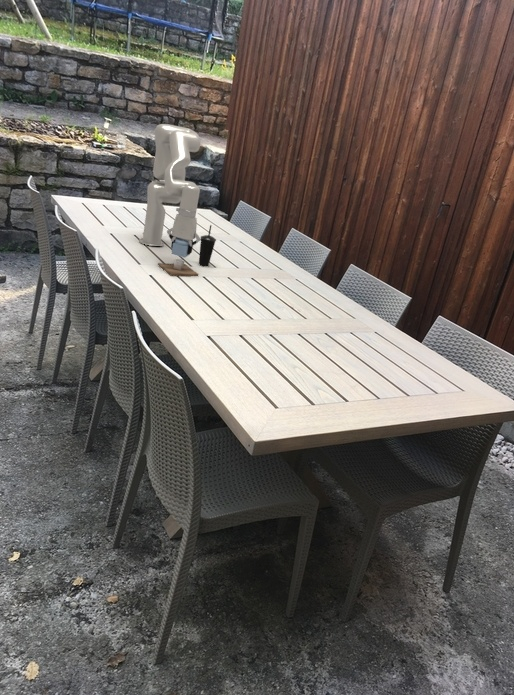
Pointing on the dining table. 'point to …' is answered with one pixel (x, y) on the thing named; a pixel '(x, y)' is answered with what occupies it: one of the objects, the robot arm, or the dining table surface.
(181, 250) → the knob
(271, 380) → the dining table surface
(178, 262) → the pale wood block
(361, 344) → the dining table surface
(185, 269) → the board
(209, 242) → the drinking cup
